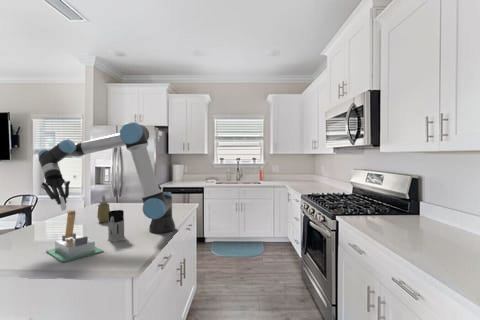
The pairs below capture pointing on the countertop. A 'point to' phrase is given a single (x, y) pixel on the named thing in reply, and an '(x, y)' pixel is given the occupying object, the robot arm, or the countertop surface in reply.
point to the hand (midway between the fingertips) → (64, 208)
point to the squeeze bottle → (103, 210)
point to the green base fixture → (73, 248)
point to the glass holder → (116, 225)
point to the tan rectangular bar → (70, 224)
